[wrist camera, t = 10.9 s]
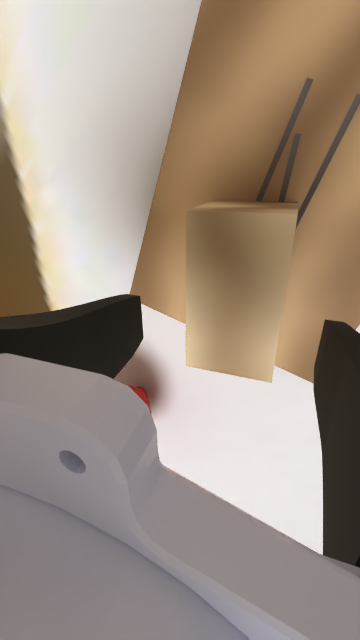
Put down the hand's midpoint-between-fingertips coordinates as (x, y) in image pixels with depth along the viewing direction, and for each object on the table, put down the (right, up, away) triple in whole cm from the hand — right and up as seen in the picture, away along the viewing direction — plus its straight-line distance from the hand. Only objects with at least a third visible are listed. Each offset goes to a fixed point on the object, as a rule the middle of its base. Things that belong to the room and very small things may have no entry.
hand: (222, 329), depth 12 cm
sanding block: (+2, +3, +6) cm, 8 cm away
